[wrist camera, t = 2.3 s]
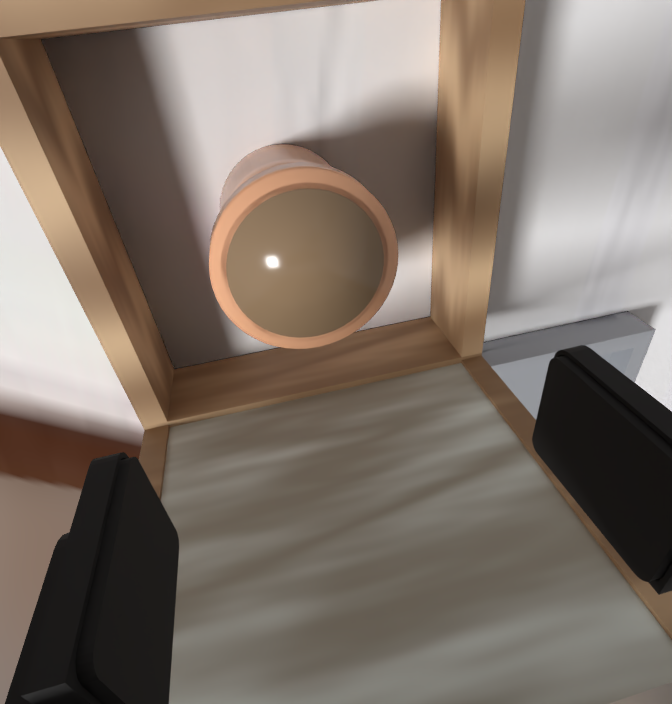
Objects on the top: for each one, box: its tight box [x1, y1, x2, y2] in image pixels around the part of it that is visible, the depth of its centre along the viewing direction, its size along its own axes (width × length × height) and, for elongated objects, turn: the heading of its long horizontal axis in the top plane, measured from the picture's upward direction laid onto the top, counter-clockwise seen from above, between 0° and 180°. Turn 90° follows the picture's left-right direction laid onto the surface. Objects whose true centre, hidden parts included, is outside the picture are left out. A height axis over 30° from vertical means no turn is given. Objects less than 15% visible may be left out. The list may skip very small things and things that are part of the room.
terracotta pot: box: [209, 144, 398, 349], centre depth 19 cm, size 7×7×7 cm
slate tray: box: [482, 311, 656, 420], centre depth 34 cm, size 14×14×2 cm
